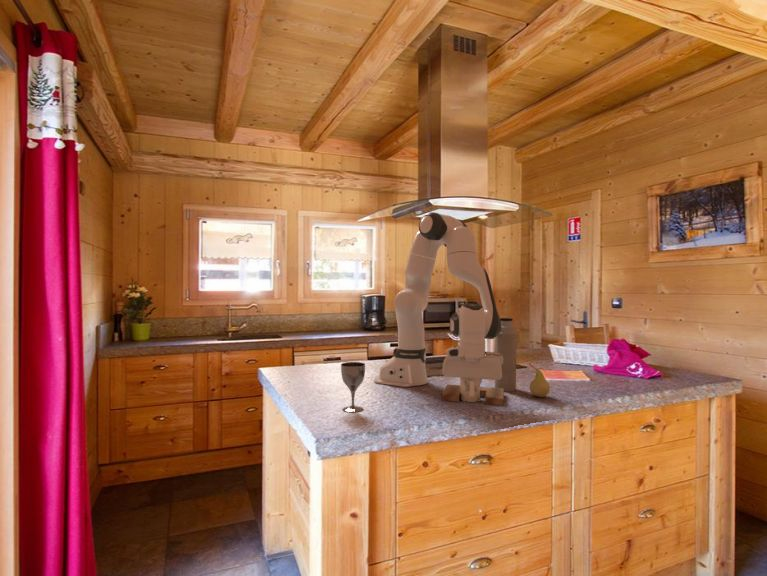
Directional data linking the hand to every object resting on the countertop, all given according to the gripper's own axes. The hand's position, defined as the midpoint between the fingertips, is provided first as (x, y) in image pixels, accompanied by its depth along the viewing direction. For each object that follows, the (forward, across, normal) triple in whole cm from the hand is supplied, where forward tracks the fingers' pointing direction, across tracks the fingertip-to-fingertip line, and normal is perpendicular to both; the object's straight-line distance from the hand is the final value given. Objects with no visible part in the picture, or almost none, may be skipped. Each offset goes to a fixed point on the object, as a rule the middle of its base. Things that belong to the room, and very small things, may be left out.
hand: (471, 390), depth 152 cm
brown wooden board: (+5, 0, -9) cm, 10 cm away
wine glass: (+5, +37, +18) cm, 41 cm away
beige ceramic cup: (+5, +1, -5) cm, 7 cm away
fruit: (+5, -23, -17) cm, 29 cm away
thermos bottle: (+5, -11, -25) cm, 28 cm away
